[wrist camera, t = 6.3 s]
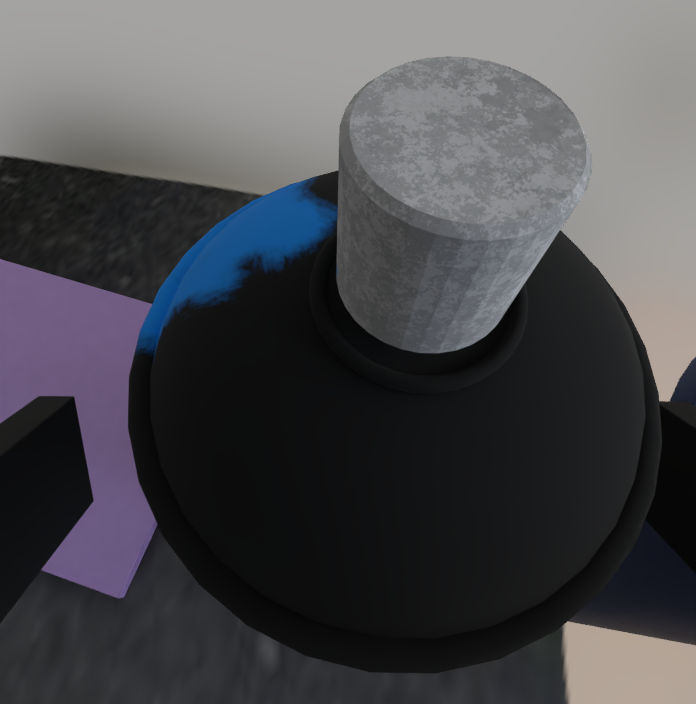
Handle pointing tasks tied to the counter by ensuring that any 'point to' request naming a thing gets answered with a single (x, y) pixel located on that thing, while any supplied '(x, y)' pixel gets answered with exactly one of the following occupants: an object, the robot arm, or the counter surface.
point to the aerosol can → (403, 387)
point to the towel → (81, 409)
